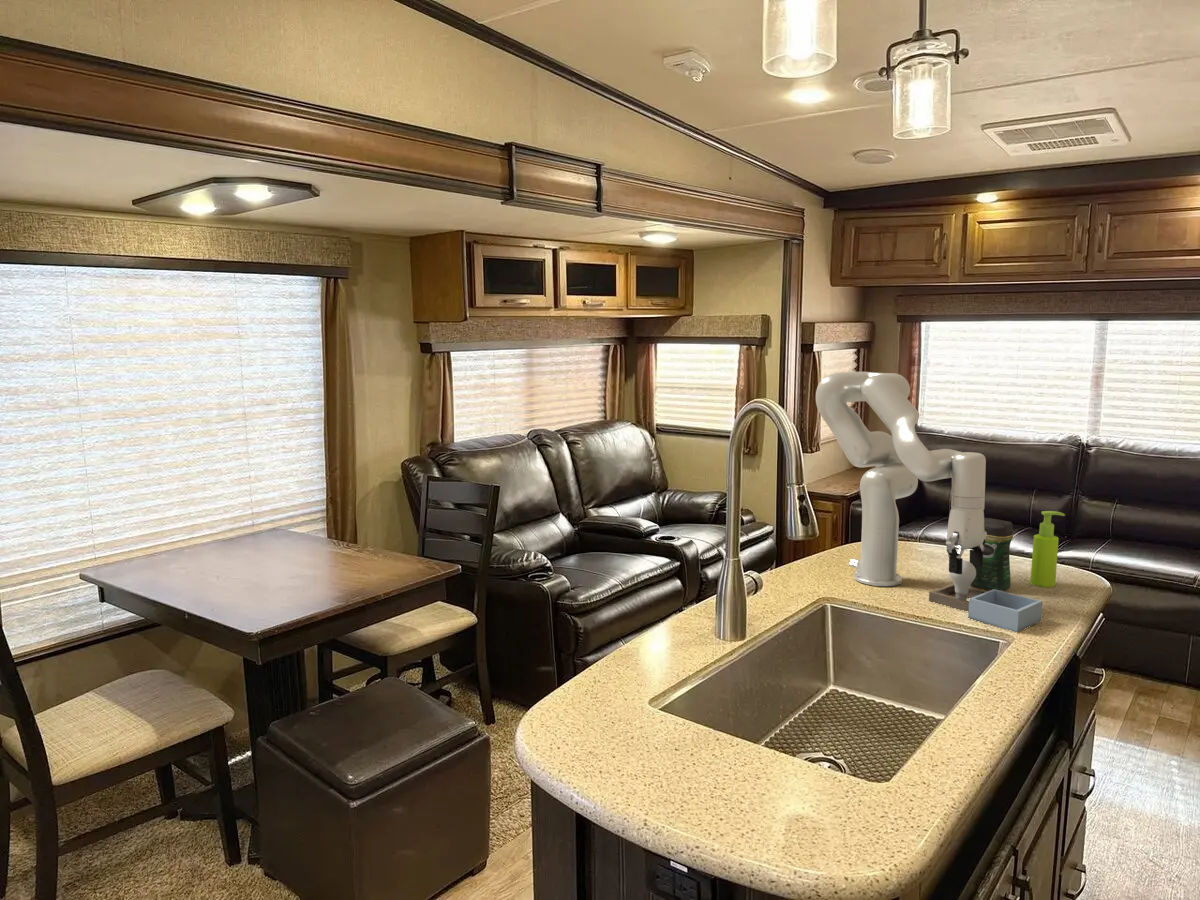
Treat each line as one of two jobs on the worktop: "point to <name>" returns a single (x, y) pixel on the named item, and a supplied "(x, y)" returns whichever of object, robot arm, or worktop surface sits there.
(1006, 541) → the coffee jar
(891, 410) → the robot arm
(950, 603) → the socket collar
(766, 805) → the worktop surface
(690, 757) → the worktop surface
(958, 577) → the lightbulb
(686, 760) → the worktop surface
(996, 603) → the box
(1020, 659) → the worktop surface
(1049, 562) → the soap dispenser
